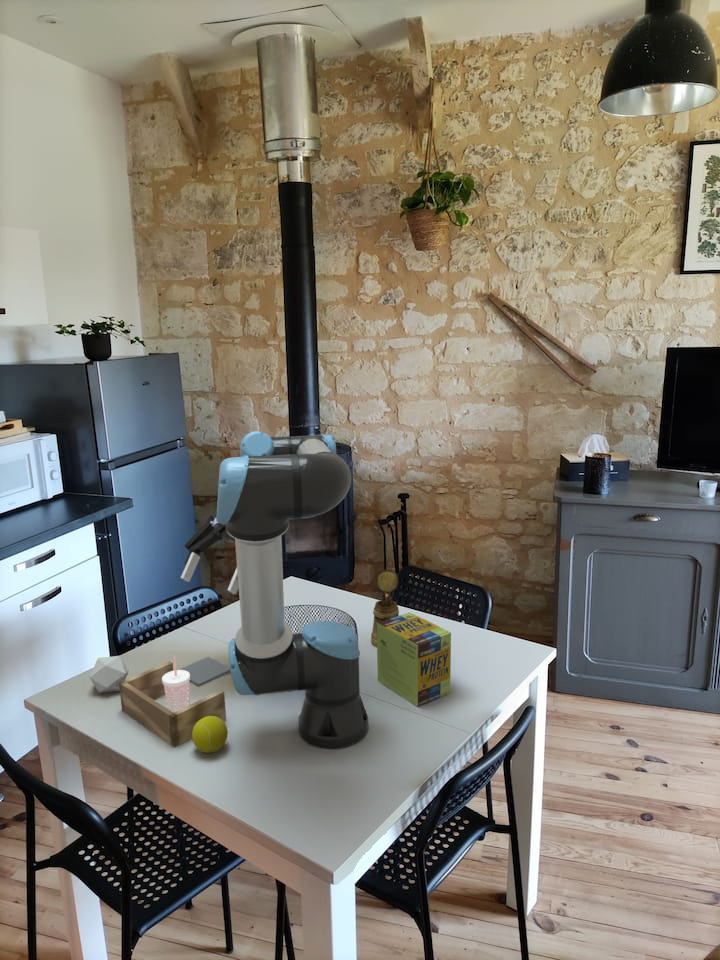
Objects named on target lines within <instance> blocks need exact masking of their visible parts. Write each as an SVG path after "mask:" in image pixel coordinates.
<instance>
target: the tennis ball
mask: <svg viewBox="0 0 720 960" xmlns="http://www.w3.org/2000/svg"><path fill="white" fill-rule="evenodd" d="M228 734H229V733H228V726H227V725H226V723H225V721H224V722H223V720H221V719H220V718H218V717H216V716H207V717H204V718H202V719H200V720H199V721H198V722H197V723H196V724H195V726H194V728H193V731H192V742H193V745H194V747H195V748H197V750H198V751H200V752H202V753H206V754H207V753H208V754H212V753H216V752H217V751H219V750H220V749H221V748H222V747H223V746H224V745H225V743H226V741H227V739H228Z"/></svg>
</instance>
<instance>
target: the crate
mask: <svg viewBox="0 0 720 960" xmlns="http://www.w3.org/2000/svg"><path fill="white" fill-rule="evenodd" d="M170 671H174V662H172V661H168V662H165V663H163V664H161V665H158V666H156V667H153V668H151V669H149V670H146V671H144V672H141V673H139V674H137V675H135V676H132V677H130V678H128V679H127V678H126V679H125V681H122V682H120V683H119V688H120V691H119V695H120V705H121V711H122V712H123V713H124V714H126V715H128V717H130V718H132V719H133V720H135V722H137V723H139V724H140V725H142V726H143V727H144V728H146V729H147V730H149V731H150V732H152V733H154V734H155V735H156V736H157V737H159V738H161V739H162V740H164V741H165V742H166V743H168V744H169V745H170V746H172V747H174V748H176V747H178V746H180V745H182V744H184V743H186V742H188V741H189V740H191V739H192V731H193V728H194V726H195V724H196V723H197V722H198V721H199V720H200V719H202V718H204V717H207V716H216V717H218V718H220V719H221V720H223V722H224V723H225V722H226V721H227V714H226V713H227V711H226V698H225V691H223V690H222V689H220V690H218V691H216V692H213V693H212V694H209V695H207V696H205V697H203V698H202V699H199V700H197V701H195V702H193V703H191V704H189V706H187V707H185V708H182V709H180V710H178V711H176V712H174V713H173V712H172V711H170V710H169V709H168V708H167V706H164V705H162V704H161V703H160V702H158V701H156V700H155V699H157V698H160V697H162V696H164V695H165V689H164V684H163V683H162V677H163V676H164V675H165V674H166V673H168V672H170Z"/></svg>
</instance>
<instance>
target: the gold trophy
mask: <svg viewBox="0 0 720 960" xmlns="http://www.w3.org/2000/svg"><path fill="white" fill-rule="evenodd" d="M376 581H377V583H376V586H377V589H378V590H379V591H380V592H381V594H382V595H381V600H377V601H376V602H375V605H374V607H373V612H372V613H373V625H372V632H371V636H370V642H371V644H372V646H374V647H375V648H377V623H378V622H381V621H384V620H387V619H391V618H394V617H397V616H400V615H399V614H400V612H399V610H400V609H399V606H398V603H397V602H396V601H394V600H392V593H393V592H395V591H396V590H397V589H398V587H399V583H400V579H399V576H398V574H397V573H396V572H395V571H393V570H392V569H391V568H387V569H384V570H383V571H381V572H380V574H379V575H377V579H376Z"/></svg>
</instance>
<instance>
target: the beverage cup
mask: <svg viewBox="0 0 720 960" xmlns="http://www.w3.org/2000/svg"><path fill="white" fill-rule="evenodd" d="M172 658H173V671H170V672H168V673H166V674H165V675H164V676H163V677H162V683H163V684H164V689H165V694H164V695H165V700H166V708H167V709H169V710H170V711H172V712H173V713H174V712H176V711H178V710H180V709H182V708H185V707H187V706H189V705H190V681H189V680H190V673H189V672H187V671H185V670H179V669H177V661H176V655H173V656H172Z"/></svg>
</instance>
